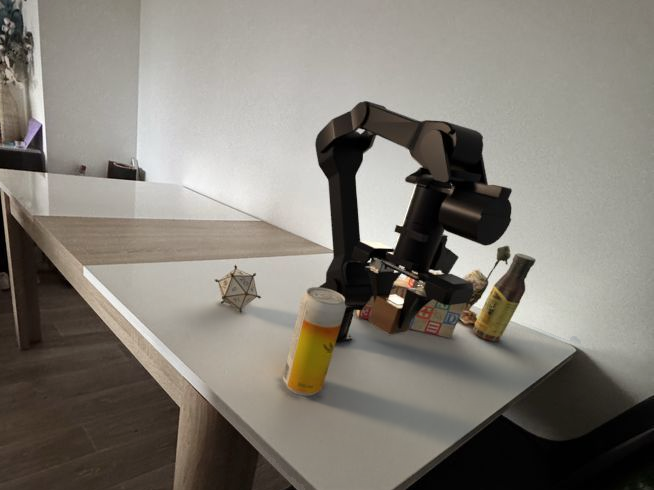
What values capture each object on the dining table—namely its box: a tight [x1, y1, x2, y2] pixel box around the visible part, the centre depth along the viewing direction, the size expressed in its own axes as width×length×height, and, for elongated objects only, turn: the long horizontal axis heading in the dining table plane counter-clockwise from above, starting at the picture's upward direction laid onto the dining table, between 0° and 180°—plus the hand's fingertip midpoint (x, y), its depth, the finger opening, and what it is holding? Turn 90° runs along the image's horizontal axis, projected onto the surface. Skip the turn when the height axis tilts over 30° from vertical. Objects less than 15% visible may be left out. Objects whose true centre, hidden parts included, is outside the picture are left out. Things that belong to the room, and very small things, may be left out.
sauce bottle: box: [472, 252, 536, 342], centre depth 88 cm, size 6×6×20 cm
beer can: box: [282, 286, 346, 397], centre depth 56 cm, size 6×6×15 cm
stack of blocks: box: [355, 270, 466, 339], centre depth 87 cm, size 21×6×12 cm, turn 85°
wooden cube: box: [368, 294, 412, 336], centre depth 61 cm, size 4×4×5 cm
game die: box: [214, 264, 262, 314], centre depth 78 cm, size 9×8×10 cm
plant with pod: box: [459, 245, 512, 325], centre depth 96 cm, size 8×11×20 cm
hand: (390, 320), depth 62 cm, fingers closed on wooden cube, 4 cm apart
